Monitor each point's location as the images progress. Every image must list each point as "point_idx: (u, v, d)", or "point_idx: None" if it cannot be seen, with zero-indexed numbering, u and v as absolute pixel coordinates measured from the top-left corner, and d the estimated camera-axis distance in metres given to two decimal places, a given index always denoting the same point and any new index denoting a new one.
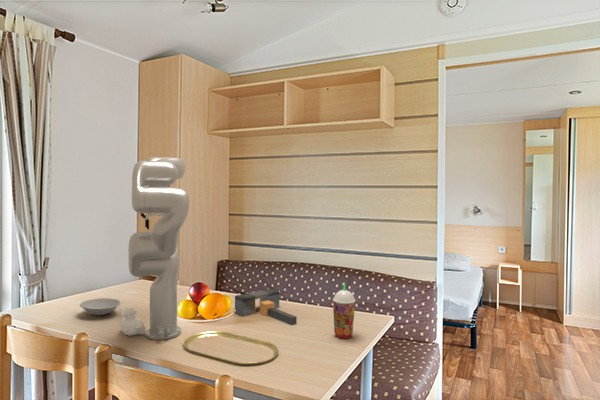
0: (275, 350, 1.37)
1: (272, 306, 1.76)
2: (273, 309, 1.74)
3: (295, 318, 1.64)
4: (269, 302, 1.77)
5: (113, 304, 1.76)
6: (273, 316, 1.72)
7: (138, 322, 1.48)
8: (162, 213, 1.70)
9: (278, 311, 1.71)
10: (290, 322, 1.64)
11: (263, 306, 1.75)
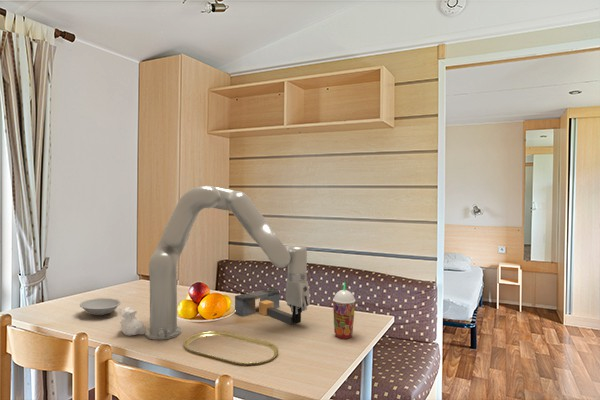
0: (275, 350, 1.37)
1: (271, 306, 1.77)
2: (272, 309, 1.74)
3: None
4: (268, 302, 1.77)
5: (113, 304, 1.76)
6: (272, 316, 1.72)
7: (138, 322, 1.48)
8: None
9: (277, 311, 1.71)
10: (289, 321, 1.64)
11: (262, 305, 1.76)
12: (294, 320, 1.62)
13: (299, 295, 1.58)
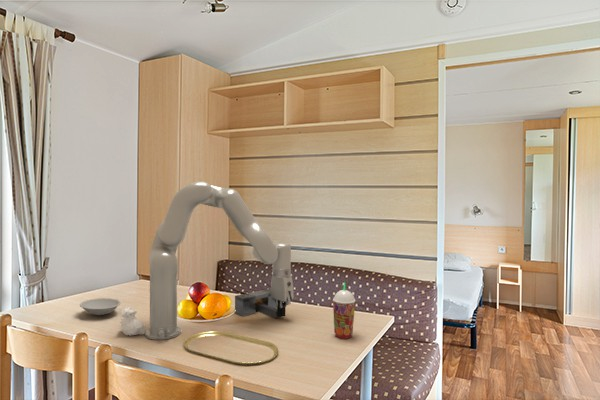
0: (275, 350, 1.37)
1: (259, 301, 1.84)
2: (259, 303, 1.81)
3: None
4: None
5: (113, 304, 1.76)
6: (259, 310, 1.79)
7: (138, 322, 1.48)
8: None
9: (264, 305, 1.79)
10: (274, 315, 1.71)
11: None
12: (279, 314, 1.69)
13: (283, 290, 1.65)
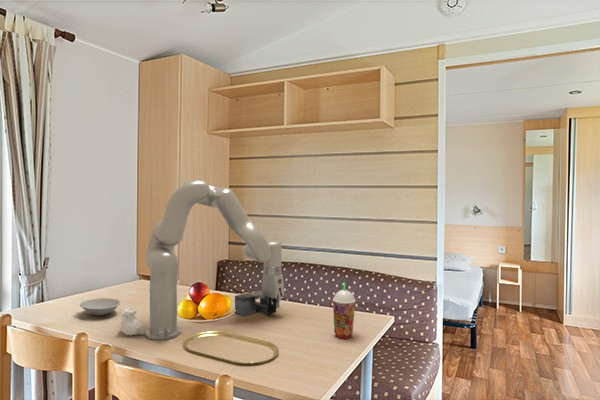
0: (275, 350, 1.37)
1: None
2: None
3: None
4: None
5: (113, 304, 1.76)
6: None
7: (138, 322, 1.48)
8: None
9: (255, 302, 1.83)
10: (266, 312, 1.76)
11: None
12: (269, 310, 1.73)
13: (274, 287, 1.70)
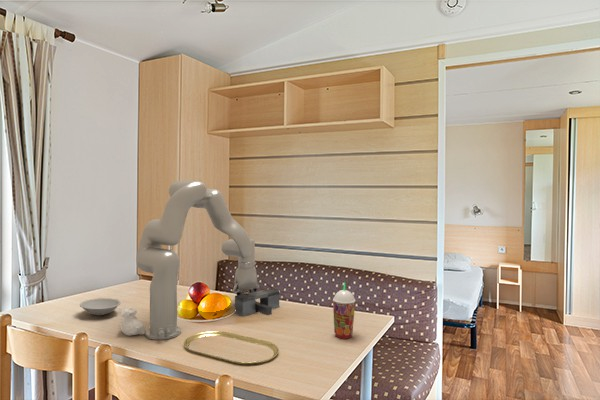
0: (275, 350, 1.37)
1: None
2: None
3: (270, 308, 1.76)
4: None
5: (113, 304, 1.76)
6: None
7: (138, 322, 1.48)
8: None
9: (255, 302, 1.83)
10: (265, 312, 1.76)
11: None
12: None
13: (255, 278, 1.89)
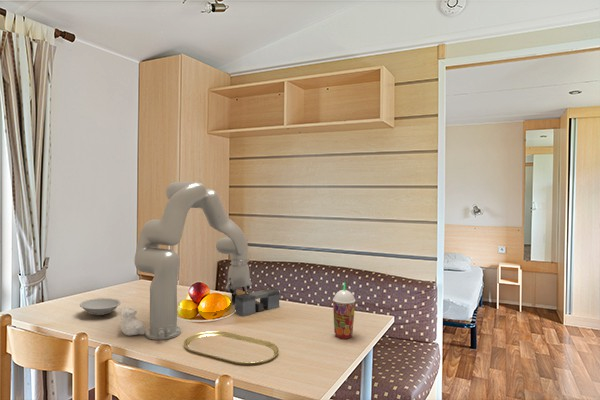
0: (275, 350, 1.37)
1: None
2: None
3: (262, 305, 1.80)
4: (240, 291, 1.93)
5: (113, 304, 1.76)
6: None
7: (138, 322, 1.48)
8: None
9: None
10: (257, 308, 1.80)
11: None
12: None
13: (248, 275, 1.93)
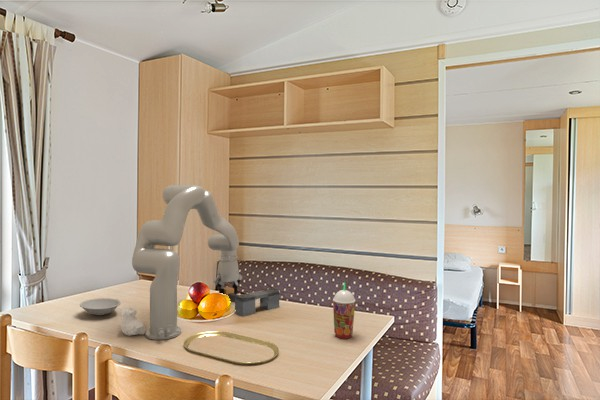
0: (275, 350, 1.38)
1: (232, 291, 1.99)
2: (232, 294, 1.97)
3: None
4: (229, 288, 2.00)
5: (113, 304, 1.76)
6: (232, 300, 1.95)
7: (138, 322, 1.48)
8: None
9: (236, 295, 1.94)
10: None
11: None
12: (236, 291, 2.01)
13: (237, 270, 2.00)
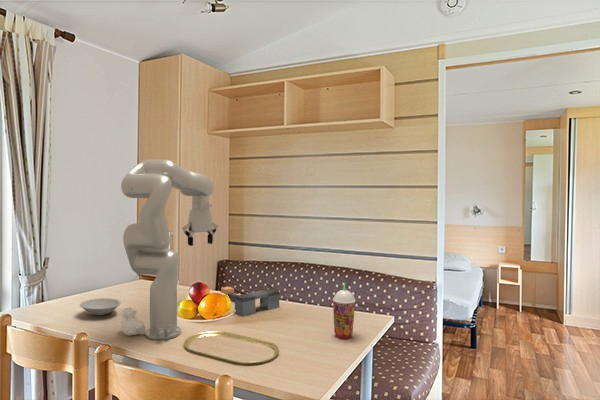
0: (276, 349, 1.38)
1: (232, 291, 1.99)
2: (232, 294, 1.97)
3: None
4: (229, 288, 2.00)
5: (113, 304, 1.76)
6: (232, 300, 1.95)
7: (138, 322, 1.48)
8: None
9: (236, 295, 1.94)
10: None
11: (223, 291, 1.98)
12: (211, 241, 1.87)
13: (210, 220, 1.86)
